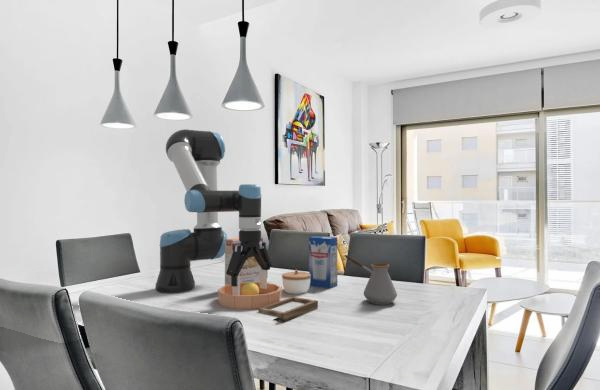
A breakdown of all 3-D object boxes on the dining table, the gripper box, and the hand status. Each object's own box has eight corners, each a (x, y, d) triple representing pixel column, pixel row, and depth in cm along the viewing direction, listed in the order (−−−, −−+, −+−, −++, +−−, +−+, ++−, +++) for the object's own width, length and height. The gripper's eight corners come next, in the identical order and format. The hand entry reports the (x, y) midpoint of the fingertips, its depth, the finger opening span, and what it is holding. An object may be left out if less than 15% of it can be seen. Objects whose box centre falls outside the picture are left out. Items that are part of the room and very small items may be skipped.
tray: (258, 316, 124) (258, 308, 124) (293, 303, 138) (293, 296, 138) (284, 322, 118) (284, 313, 118) (317, 308, 133) (317, 300, 133)
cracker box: (232, 296, 149) (232, 239, 149) (224, 294, 153) (223, 238, 153) (263, 291, 158) (263, 237, 158) (254, 288, 162) (254, 236, 163)
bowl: (205, 306, 135) (205, 290, 135) (248, 294, 152) (248, 279, 152) (252, 317, 123) (252, 299, 123) (293, 302, 140) (292, 286, 140)
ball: (237, 300, 137) (237, 283, 137) (249, 297, 142) (249, 280, 142) (250, 303, 134) (250, 285, 134) (262, 299, 138) (262, 282, 138)
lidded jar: (307, 299, 145) (307, 273, 145) (278, 297, 147) (278, 272, 147) (313, 292, 155) (312, 267, 155) (285, 291, 158) (285, 267, 158)
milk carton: (337, 285, 167) (337, 237, 167) (330, 288, 161) (330, 238, 162) (316, 283, 172) (316, 236, 172) (309, 285, 167) (308, 237, 167)
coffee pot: (403, 301, 141) (403, 258, 141) (386, 308, 133) (385, 262, 133) (352, 292, 156) (352, 253, 156) (334, 297, 147) (334, 256, 147)
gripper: (231, 232, 126) (232, 301, 125) (281, 227, 146) (281, 286, 146) (214, 231, 130) (215, 298, 130) (265, 226, 150) (265, 284, 150)
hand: (250, 292), depth 138 cm, fingers open, 13 cm apart
